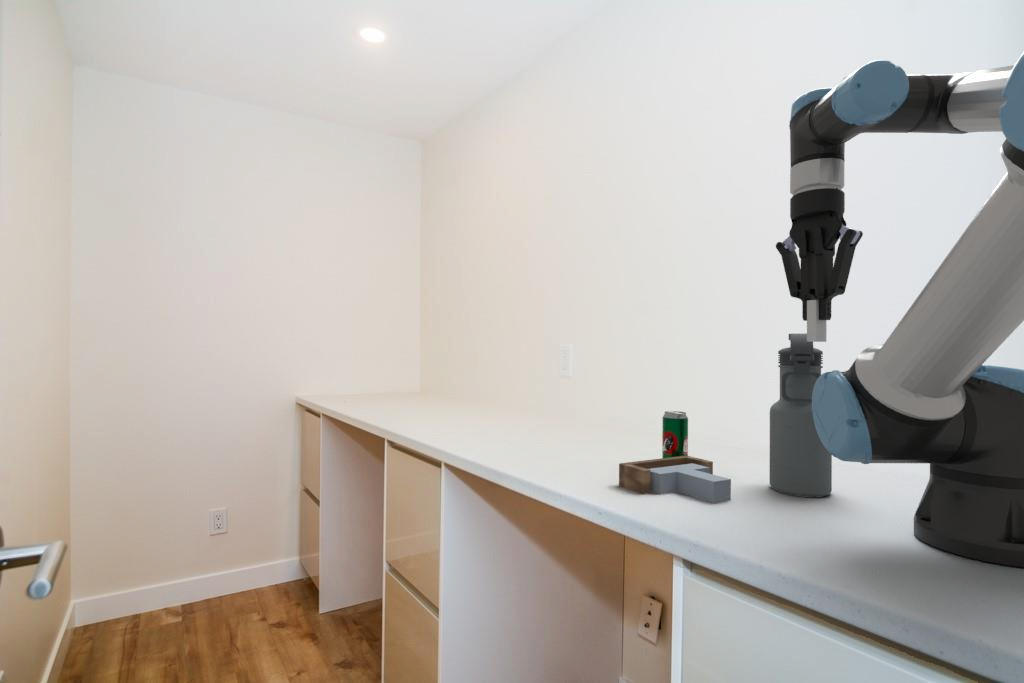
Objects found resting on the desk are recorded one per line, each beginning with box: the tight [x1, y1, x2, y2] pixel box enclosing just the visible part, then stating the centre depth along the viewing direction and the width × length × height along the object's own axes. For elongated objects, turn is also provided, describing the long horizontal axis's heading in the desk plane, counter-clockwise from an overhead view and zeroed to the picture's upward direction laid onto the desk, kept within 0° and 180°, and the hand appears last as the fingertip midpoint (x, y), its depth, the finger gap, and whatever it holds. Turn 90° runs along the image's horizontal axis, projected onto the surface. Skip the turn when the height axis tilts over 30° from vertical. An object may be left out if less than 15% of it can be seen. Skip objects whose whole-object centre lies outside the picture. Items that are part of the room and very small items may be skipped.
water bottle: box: [769, 333, 833, 498], centre depth 96 cm, size 10×10×28 cm
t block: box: [649, 463, 732, 504], centre depth 94 cm, size 12×12×4 cm
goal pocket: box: [618, 455, 714, 495], centre depth 100 cm, size 6×17×4 cm, turn 118°
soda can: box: [661, 410, 689, 458], centre depth 111 cm, size 5×5×12 cm
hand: (816, 341), depth 85 cm, fingers closed
